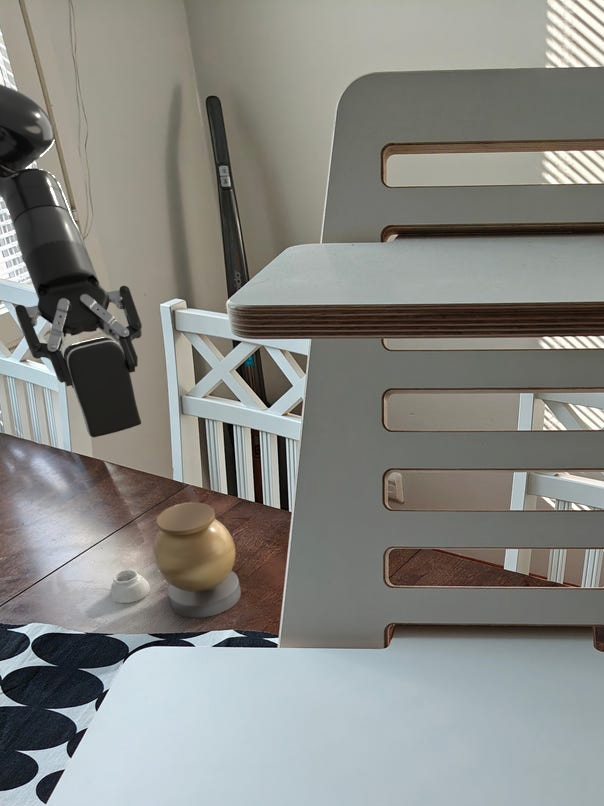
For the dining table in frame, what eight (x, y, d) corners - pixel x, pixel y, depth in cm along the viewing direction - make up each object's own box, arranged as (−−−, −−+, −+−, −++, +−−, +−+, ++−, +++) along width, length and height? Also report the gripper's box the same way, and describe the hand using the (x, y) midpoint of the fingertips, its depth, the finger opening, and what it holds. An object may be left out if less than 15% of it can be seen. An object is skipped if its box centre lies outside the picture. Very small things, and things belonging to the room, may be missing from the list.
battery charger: (134, 415, 129) (112, 330, 122) (144, 425, 127) (122, 339, 120) (82, 430, 126) (55, 343, 119) (91, 440, 124) (64, 353, 117)
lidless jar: (108, 590, 130) (115, 609, 127) (102, 572, 128) (109, 590, 125) (145, 579, 132) (154, 598, 128) (140, 561, 130) (148, 579, 127)
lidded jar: (163, 624, 124) (139, 541, 116) (171, 581, 131) (148, 500, 124) (243, 615, 125) (224, 532, 117) (246, 572, 132) (228, 492, 125)
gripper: (-10, 249, 116) (38, 376, 115) (113, 228, 121) (159, 350, 120) (-1, 282, 123) (44, 402, 122) (114, 261, 128) (158, 376, 127)
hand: (101, 376), depth 121 cm, fingers closed on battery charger, 7 cm apart
